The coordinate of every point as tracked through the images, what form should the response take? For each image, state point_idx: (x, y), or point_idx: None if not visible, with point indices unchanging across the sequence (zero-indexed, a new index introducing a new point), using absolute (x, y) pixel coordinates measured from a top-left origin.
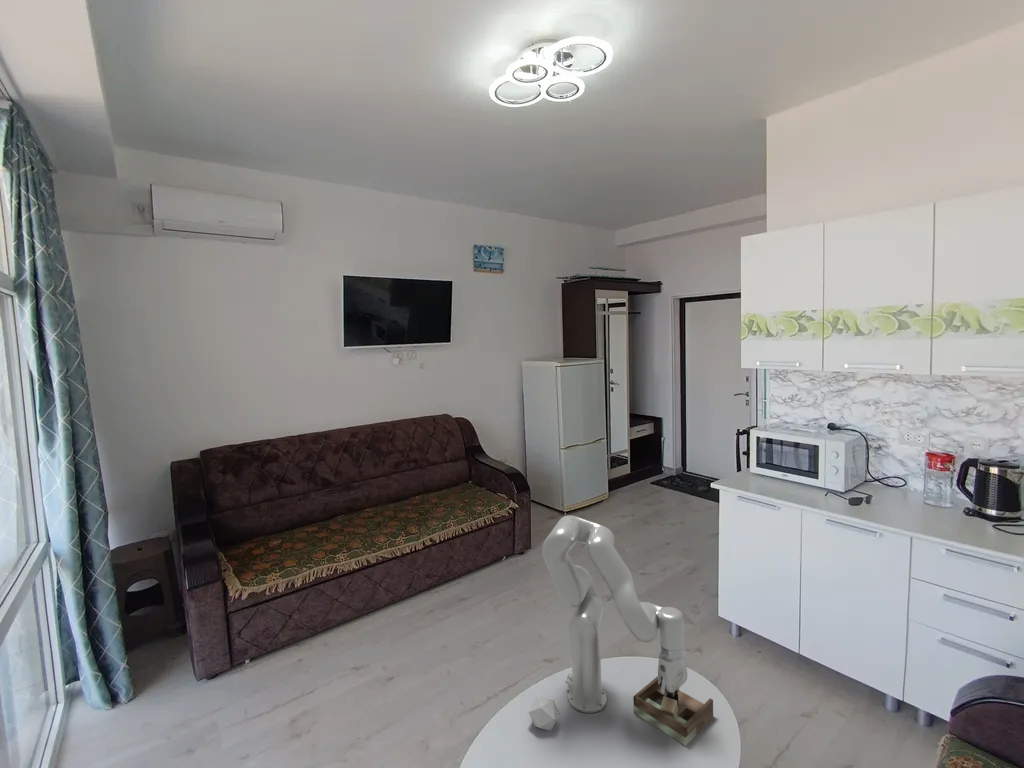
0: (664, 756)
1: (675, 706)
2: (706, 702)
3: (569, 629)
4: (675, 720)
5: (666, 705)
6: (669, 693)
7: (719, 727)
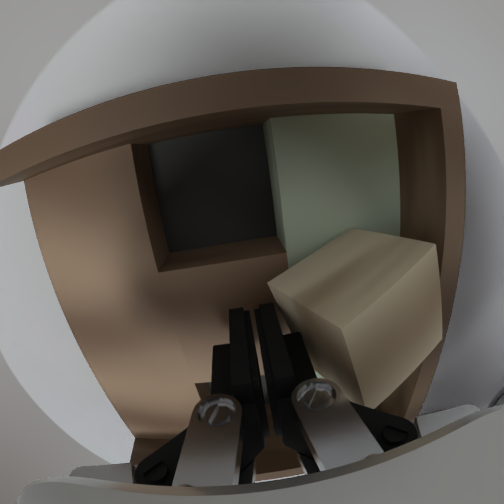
0: (481, 146)
1: (385, 283)
2: (19, 165)
3: None
4: (457, 184)
5: (420, 332)
6: (400, 421)
7: (89, 74)
